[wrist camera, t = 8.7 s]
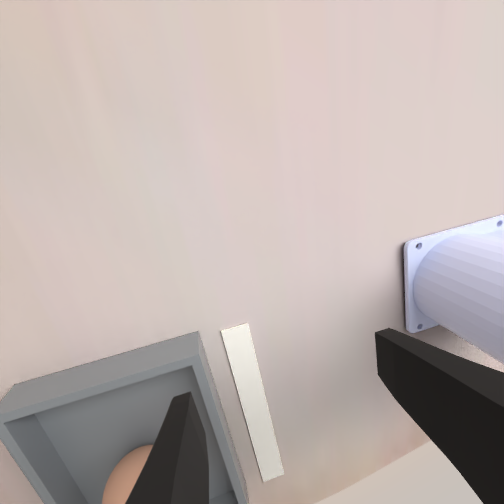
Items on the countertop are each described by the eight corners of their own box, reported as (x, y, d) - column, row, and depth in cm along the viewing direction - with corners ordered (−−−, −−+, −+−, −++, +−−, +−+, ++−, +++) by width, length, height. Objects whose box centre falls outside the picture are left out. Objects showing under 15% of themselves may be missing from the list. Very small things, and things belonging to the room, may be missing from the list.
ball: (175, 419, 20) (171, 493, 16) (190, 466, 22) (190, 546, 17) (103, 440, 20) (77, 525, 15) (125, 488, 21) (106, 578, 17)
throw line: (247, 322, 20) (248, 323, 20) (284, 472, 25) (284, 474, 25) (220, 330, 20) (221, 331, 20) (262, 480, 25) (263, 481, 25)
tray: (198, 331, 19) (199, 354, 17) (245, 483, 25) (251, 517, 22) (14, 384, 18) (-14, 418, 15) (105, 535, 23) (95, 578, 21)
